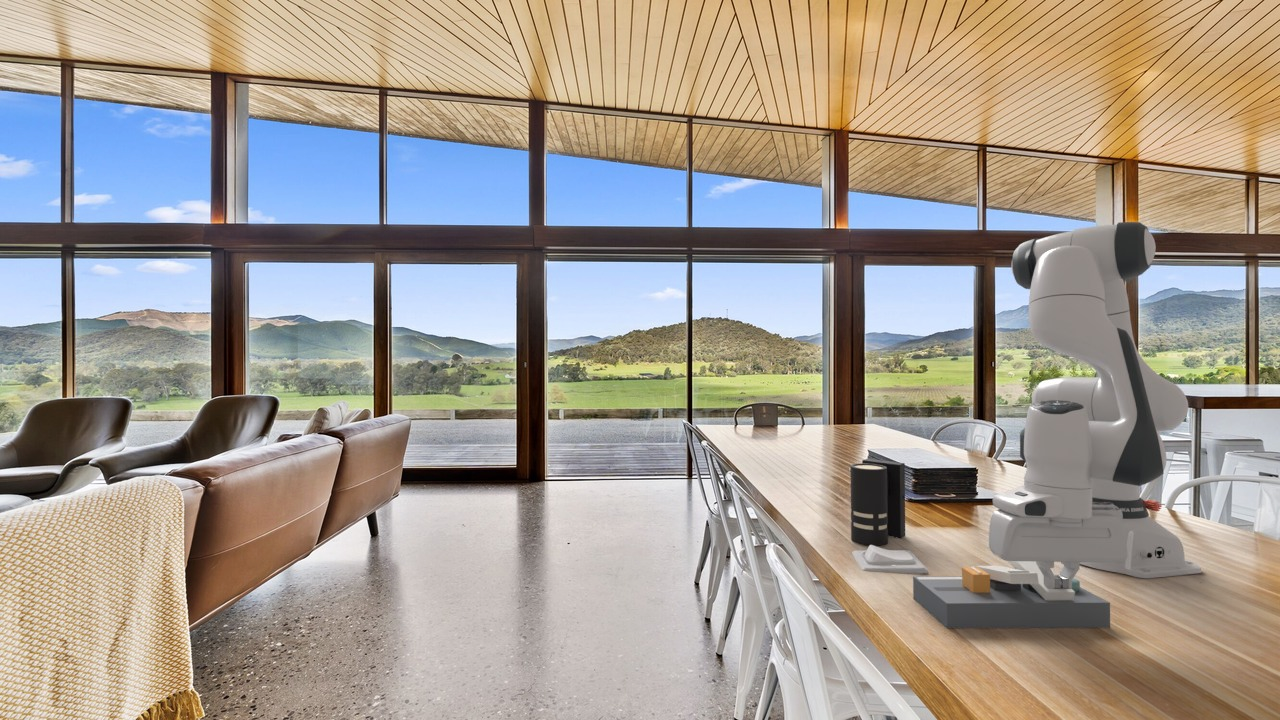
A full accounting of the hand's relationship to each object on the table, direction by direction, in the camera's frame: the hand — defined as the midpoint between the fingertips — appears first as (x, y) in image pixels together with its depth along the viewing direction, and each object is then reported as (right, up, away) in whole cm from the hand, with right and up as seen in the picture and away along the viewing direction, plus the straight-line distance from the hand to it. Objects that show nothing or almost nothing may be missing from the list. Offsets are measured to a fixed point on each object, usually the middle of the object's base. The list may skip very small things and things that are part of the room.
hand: (1057, 587), depth 88 cm
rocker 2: (0, -1, +5) cm, 5 cm away
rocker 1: (-5, -1, +5) cm, 7 cm away
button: (+6, -2, +5) cm, 8 cm away
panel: (-5, -6, +5) cm, 9 cm away
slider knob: (-10, -2, +5) cm, 11 cm away
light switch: (-15, -7, +28) cm, 33 cm away
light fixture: (-11, -7, +44) cm, 46 cm away
